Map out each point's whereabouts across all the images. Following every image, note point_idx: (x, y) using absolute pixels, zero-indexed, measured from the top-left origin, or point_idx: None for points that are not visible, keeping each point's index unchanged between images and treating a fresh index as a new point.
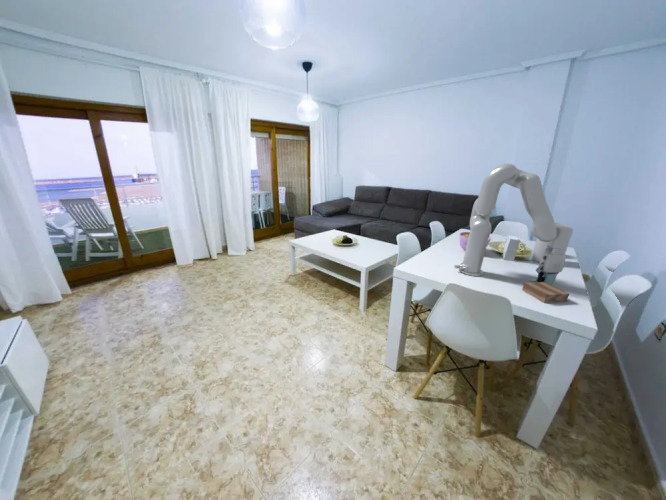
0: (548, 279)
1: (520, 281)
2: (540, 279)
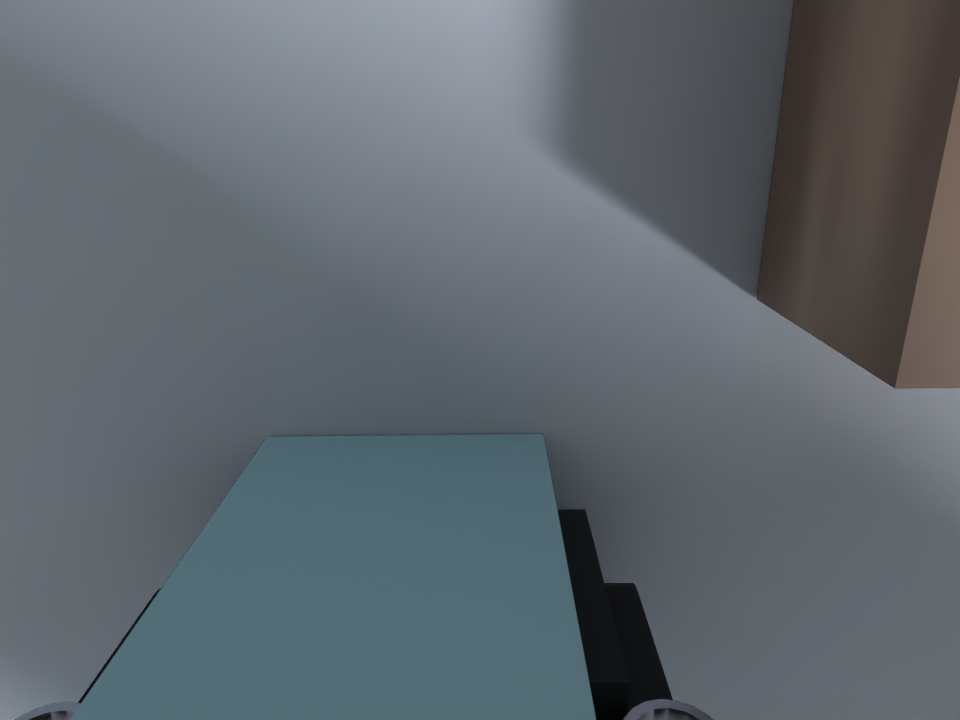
0: (489, 576)
1: (910, 707)
2: (652, 649)
